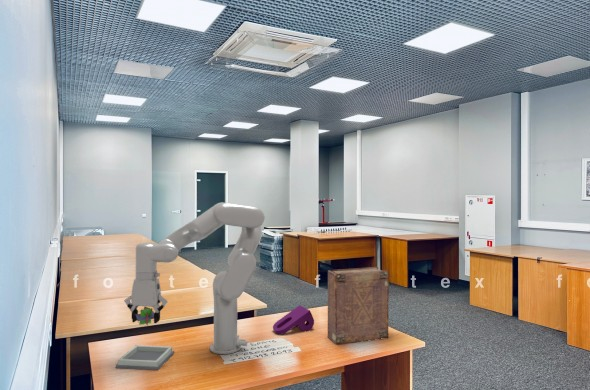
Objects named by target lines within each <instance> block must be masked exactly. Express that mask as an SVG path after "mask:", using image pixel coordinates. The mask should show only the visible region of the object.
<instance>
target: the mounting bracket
mask: <svg viewBox="0 0 590 390" xmlns="http://www.w3.org/2000/svg"><path fill="white" fill-rule="evenodd" d="M314 325H315V319H314V317H313V314H312V312H311V310H310V309H308V308H306V307H304V306H302V305H298V306H297V307H295V308H294V309H292V310H291V311H289V312H288V313H287V314H285V315H284V316H283V317H281V318H279V319H278V320H276V322H275V323H273V326H272V329H273V332H274V334H276V335H283V334H286V333H288V332H289V331H291V330H293V328H295V327H296V328H298V329H299V330H300V331H302V332H304V333H305V332H309V331H311V330H312V329H313V328H314Z"/></svg>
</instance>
